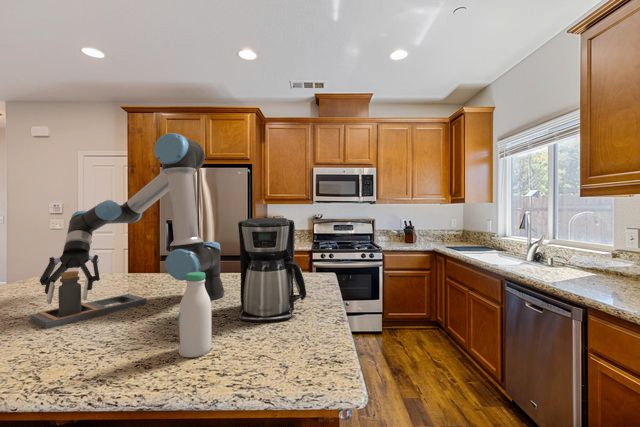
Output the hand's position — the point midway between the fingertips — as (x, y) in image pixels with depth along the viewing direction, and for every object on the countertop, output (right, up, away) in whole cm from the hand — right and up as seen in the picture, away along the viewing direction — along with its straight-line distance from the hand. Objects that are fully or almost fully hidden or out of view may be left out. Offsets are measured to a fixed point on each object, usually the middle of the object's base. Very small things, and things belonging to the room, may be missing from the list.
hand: (67, 299), depth 99 cm
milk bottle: (+50, -7, -21) cm, 55 cm away
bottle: (-1, -7, +3) cm, 8 cm away
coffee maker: (+66, -7, +14) cm, 67 cm away
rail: (+2, -7, +9) cm, 11 cm away
